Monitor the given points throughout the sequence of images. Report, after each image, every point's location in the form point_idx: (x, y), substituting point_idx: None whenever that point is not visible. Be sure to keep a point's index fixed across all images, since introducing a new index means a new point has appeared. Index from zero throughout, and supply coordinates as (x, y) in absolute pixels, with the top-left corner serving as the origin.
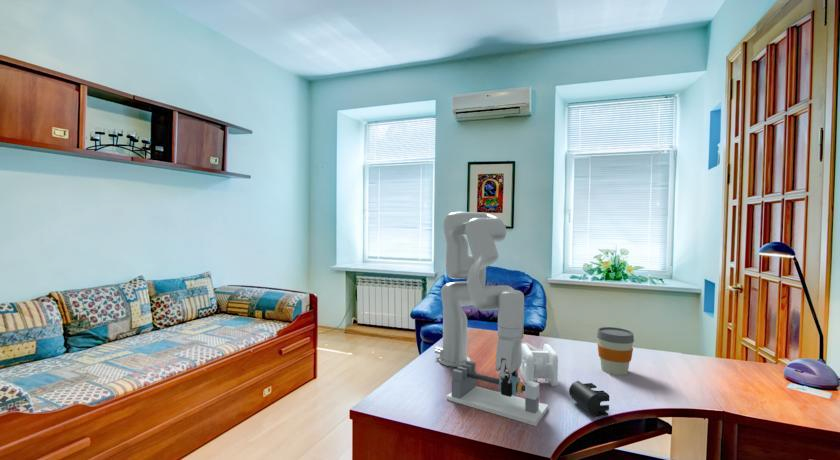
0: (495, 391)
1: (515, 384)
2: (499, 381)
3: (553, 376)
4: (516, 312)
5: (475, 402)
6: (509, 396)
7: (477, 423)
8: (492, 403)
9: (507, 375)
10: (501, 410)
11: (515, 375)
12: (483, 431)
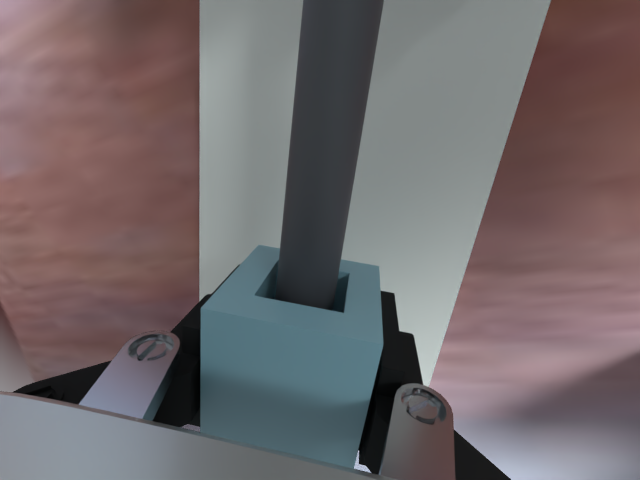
0: (499, 139)
1: None
2: (219, 291)
3: None
4: None
5: (224, 46)
6: None
7: (60, 142)
8: (275, 173)
9: (346, 386)
10: (212, 247)
11: (375, 469)
12: (19, 194)
